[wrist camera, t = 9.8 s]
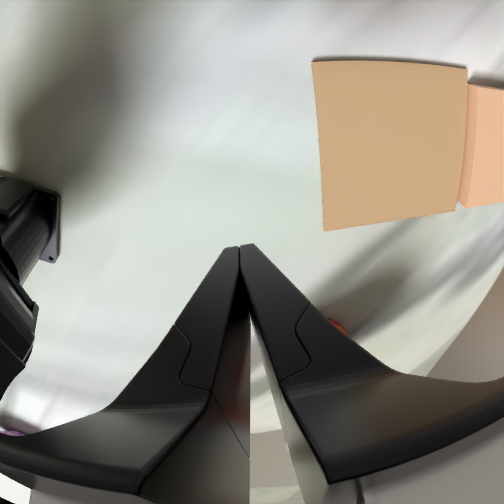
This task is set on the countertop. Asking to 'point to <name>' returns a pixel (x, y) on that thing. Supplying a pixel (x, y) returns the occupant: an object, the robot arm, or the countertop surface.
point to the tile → (483, 148)
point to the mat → (388, 139)
